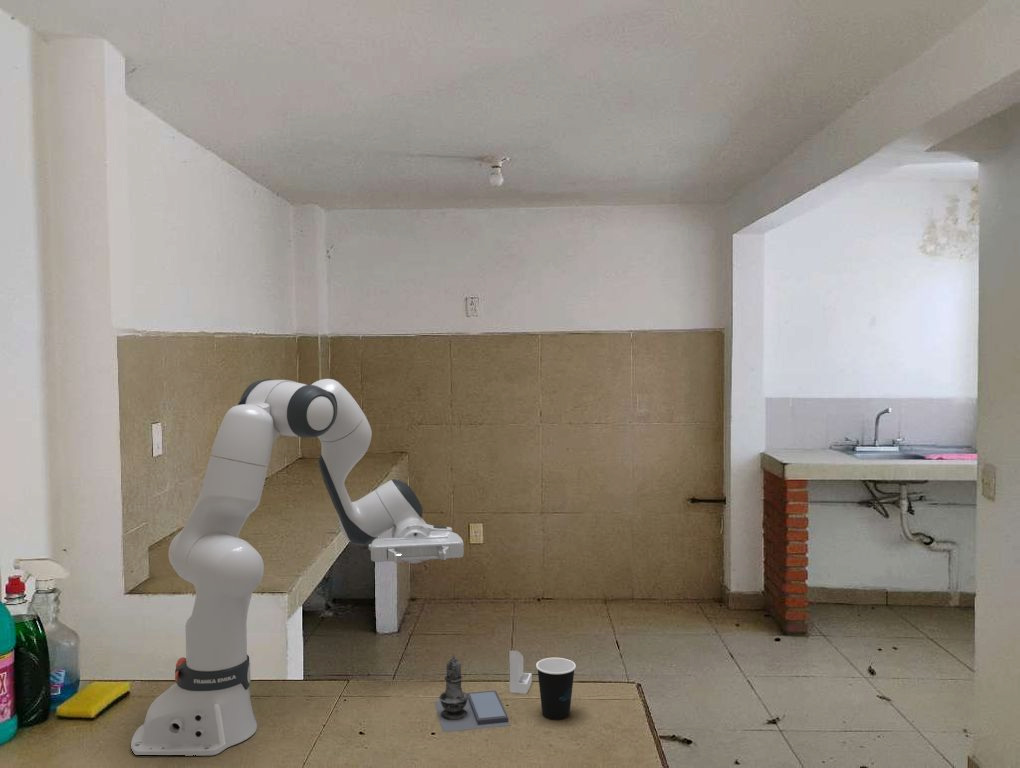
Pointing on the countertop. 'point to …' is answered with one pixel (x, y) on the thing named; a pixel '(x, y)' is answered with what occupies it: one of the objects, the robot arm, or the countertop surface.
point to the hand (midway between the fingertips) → (420, 557)
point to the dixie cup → (555, 686)
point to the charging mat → (463, 720)
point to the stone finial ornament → (453, 693)
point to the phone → (487, 707)
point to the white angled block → (518, 674)
